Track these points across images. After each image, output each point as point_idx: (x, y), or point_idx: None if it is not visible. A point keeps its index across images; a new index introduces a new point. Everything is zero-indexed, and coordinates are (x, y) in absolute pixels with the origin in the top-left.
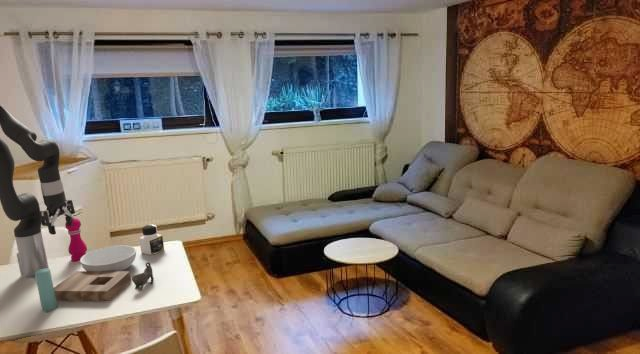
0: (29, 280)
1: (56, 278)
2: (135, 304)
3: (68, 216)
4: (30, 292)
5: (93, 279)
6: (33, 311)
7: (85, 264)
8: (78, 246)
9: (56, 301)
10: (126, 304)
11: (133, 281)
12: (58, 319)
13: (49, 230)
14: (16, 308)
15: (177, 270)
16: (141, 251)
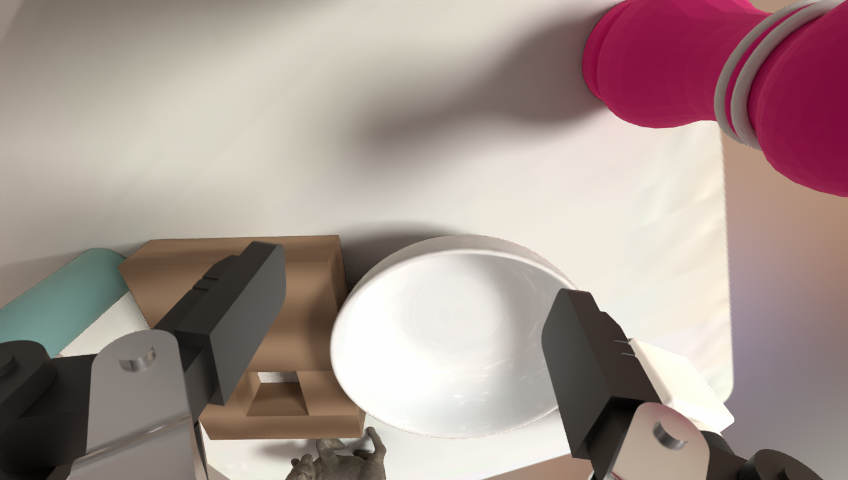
0: None
1: (345, 100)
2: (239, 459)
3: (594, 462)
4: (166, 68)
5: (271, 367)
6: (58, 224)
7: (334, 326)
8: (638, 109)
9: (118, 299)
10: (231, 444)
11: (290, 472)
12: (77, 337)
13: (197, 298)
14: (26, 127)
15: (449, 473)
16: (632, 345)
